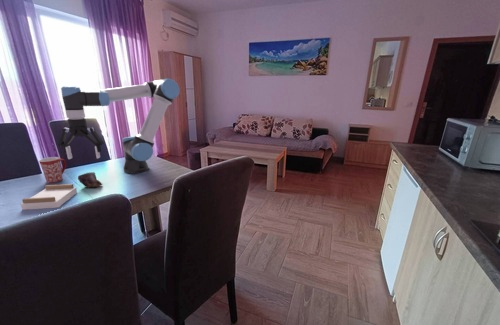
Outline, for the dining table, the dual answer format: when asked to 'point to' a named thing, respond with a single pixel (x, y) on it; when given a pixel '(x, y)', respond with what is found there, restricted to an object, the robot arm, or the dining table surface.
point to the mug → (52, 169)
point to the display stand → (50, 197)
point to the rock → (89, 180)
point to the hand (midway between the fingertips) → (84, 158)
